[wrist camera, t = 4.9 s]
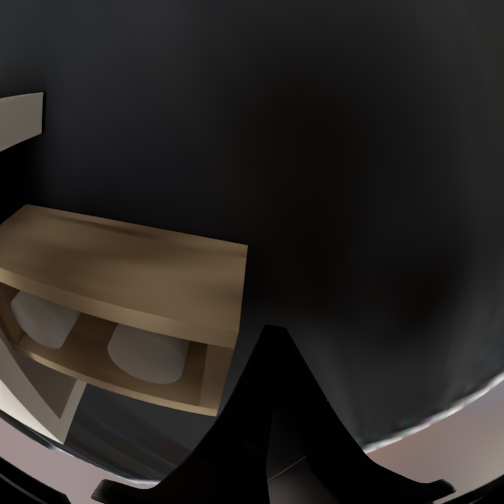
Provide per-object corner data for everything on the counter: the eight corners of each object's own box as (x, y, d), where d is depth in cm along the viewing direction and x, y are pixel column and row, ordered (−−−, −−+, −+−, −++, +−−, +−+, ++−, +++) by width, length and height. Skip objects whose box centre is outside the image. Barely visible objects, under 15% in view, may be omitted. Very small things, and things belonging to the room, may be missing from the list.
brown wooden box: (247, 245, 10) (238, 332, 7) (226, 341, 13) (216, 416, 10) (26, 204, 9) (-32, 253, 6) (48, 295, 12) (13, 349, 9)
